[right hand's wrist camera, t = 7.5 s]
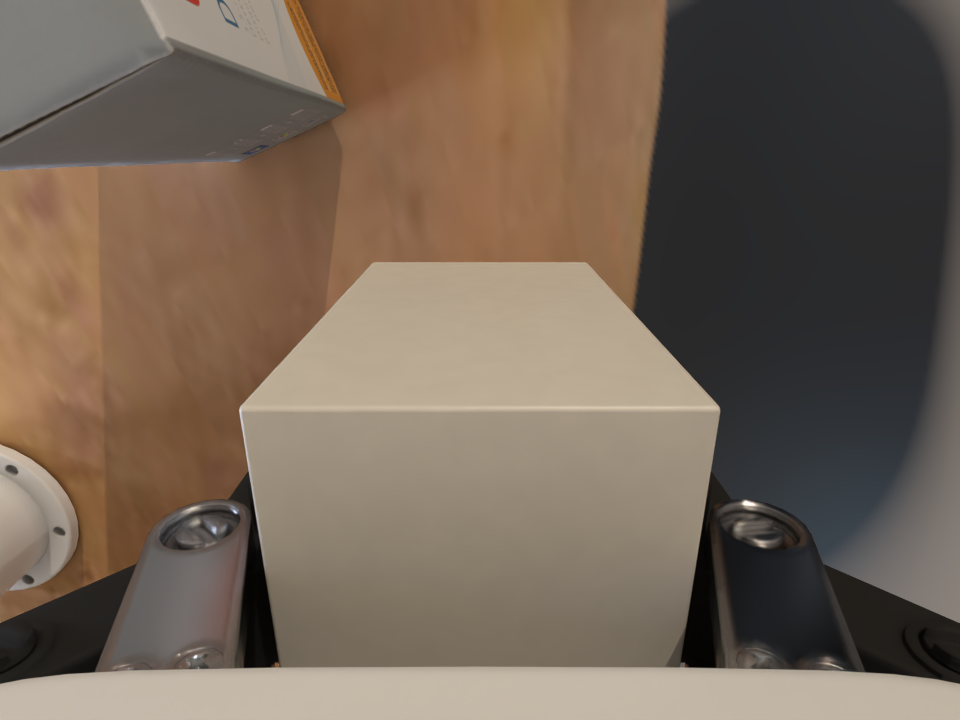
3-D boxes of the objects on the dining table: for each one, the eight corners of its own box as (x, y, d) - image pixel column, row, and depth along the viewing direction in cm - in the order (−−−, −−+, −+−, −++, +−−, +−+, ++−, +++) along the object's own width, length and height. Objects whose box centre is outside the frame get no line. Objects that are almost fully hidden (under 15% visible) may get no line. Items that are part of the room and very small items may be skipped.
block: (387, 509, 16) (305, 838, 8) (372, 261, 13) (236, 407, 6) (571, 509, 16) (654, 838, 8) (587, 261, 13) (722, 407, 6)
